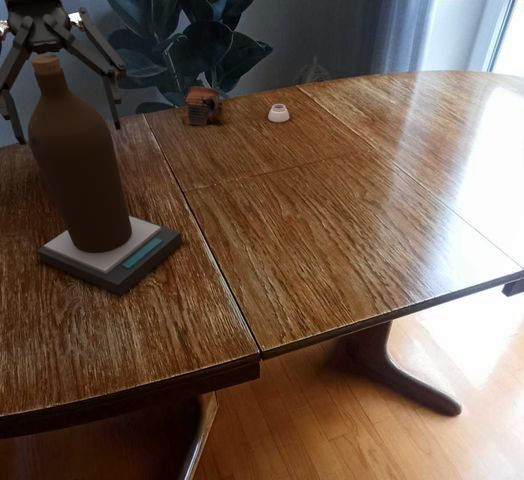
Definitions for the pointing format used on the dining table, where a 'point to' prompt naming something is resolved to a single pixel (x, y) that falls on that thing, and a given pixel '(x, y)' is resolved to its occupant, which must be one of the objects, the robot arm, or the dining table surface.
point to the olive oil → (77, 162)
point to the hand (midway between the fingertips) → (70, 133)
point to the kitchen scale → (114, 256)
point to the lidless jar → (278, 113)
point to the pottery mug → (202, 105)
